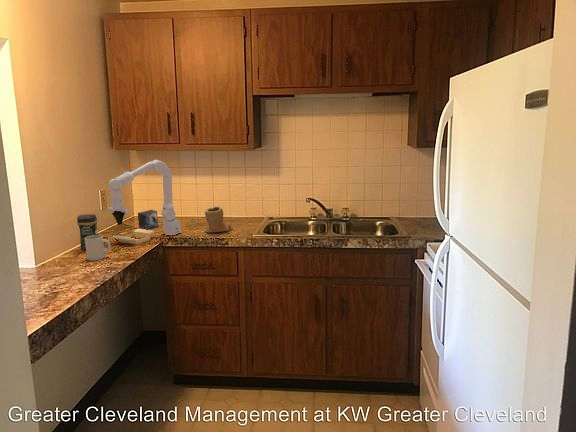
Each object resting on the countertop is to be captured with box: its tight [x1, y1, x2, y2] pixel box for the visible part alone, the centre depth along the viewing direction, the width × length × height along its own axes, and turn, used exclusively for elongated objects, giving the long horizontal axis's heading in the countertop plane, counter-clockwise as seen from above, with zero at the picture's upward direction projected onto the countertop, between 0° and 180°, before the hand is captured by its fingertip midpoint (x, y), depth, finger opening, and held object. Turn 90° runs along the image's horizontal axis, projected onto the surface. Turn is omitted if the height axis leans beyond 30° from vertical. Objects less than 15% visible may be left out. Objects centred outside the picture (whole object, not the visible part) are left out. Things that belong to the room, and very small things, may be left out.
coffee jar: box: [76, 213, 99, 250], centre depth 246 cm, size 10×8×19 cm
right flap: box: [132, 228, 156, 236], centre depth 263 cm, size 13×4×1 cm, turn 60°
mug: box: [85, 234, 112, 262], centre depth 229 cm, size 12×8×11 cm
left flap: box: [112, 235, 135, 240], centre depth 251 cm, size 13×4×1 cm, turn 60°
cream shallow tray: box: [118, 232, 151, 245], centre depth 257 cm, size 14×10×2 cm
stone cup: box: [204, 206, 232, 234], centre depth 268 cm, size 15×12×15 cm
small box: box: [137, 209, 159, 230], centre depth 285 cm, size 11×6×10 cm, turn 143°
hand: (120, 224), depth 255 cm, fingers closed
